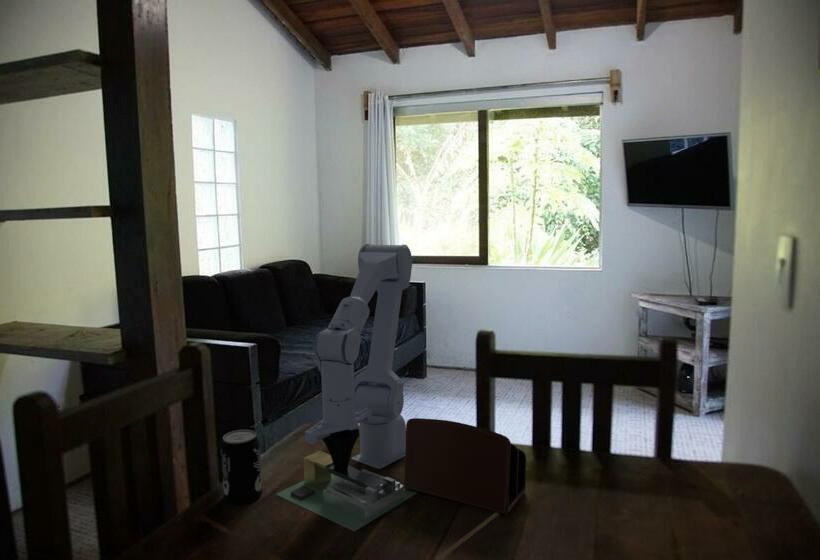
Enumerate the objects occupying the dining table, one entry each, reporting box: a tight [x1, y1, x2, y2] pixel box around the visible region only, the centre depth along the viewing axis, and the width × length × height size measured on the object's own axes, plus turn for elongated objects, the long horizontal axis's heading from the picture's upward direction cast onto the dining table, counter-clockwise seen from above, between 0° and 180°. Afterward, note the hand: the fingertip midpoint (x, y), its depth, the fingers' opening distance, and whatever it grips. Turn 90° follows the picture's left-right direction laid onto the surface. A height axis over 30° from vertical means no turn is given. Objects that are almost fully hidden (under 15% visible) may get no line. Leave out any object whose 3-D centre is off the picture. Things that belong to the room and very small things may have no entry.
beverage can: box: [220, 429, 263, 506], centre depth 111 cm, size 7×7×12 cm
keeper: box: [303, 450, 333, 488], centre depth 115 cm, size 4×6×5 cm
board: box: [275, 465, 418, 532], centre depth 112 cm, size 16×20×1 cm
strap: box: [328, 465, 388, 493], centre depth 109 cm, size 3×12×1 cm, turn 50°
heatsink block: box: [323, 468, 405, 522], centre depth 109 cm, size 10×10×4 cm
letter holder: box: [403, 417, 527, 516], centre depth 112 cm, size 10×20×14 cm, turn 61°
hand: (341, 469), depth 112 cm, fingers closed, pressing on strap
